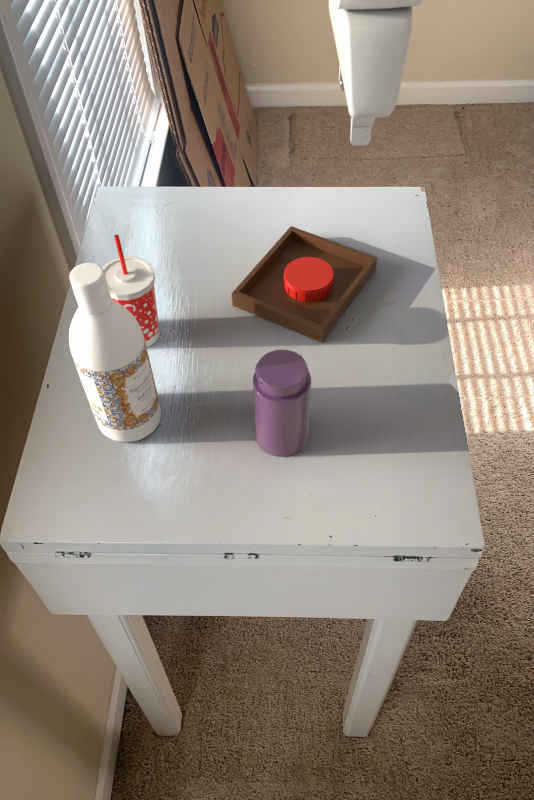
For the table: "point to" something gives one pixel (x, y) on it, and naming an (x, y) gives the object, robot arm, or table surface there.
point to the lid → (308, 279)
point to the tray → (307, 318)
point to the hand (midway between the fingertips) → (353, 113)
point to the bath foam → (112, 359)
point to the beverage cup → (134, 290)
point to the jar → (281, 402)
